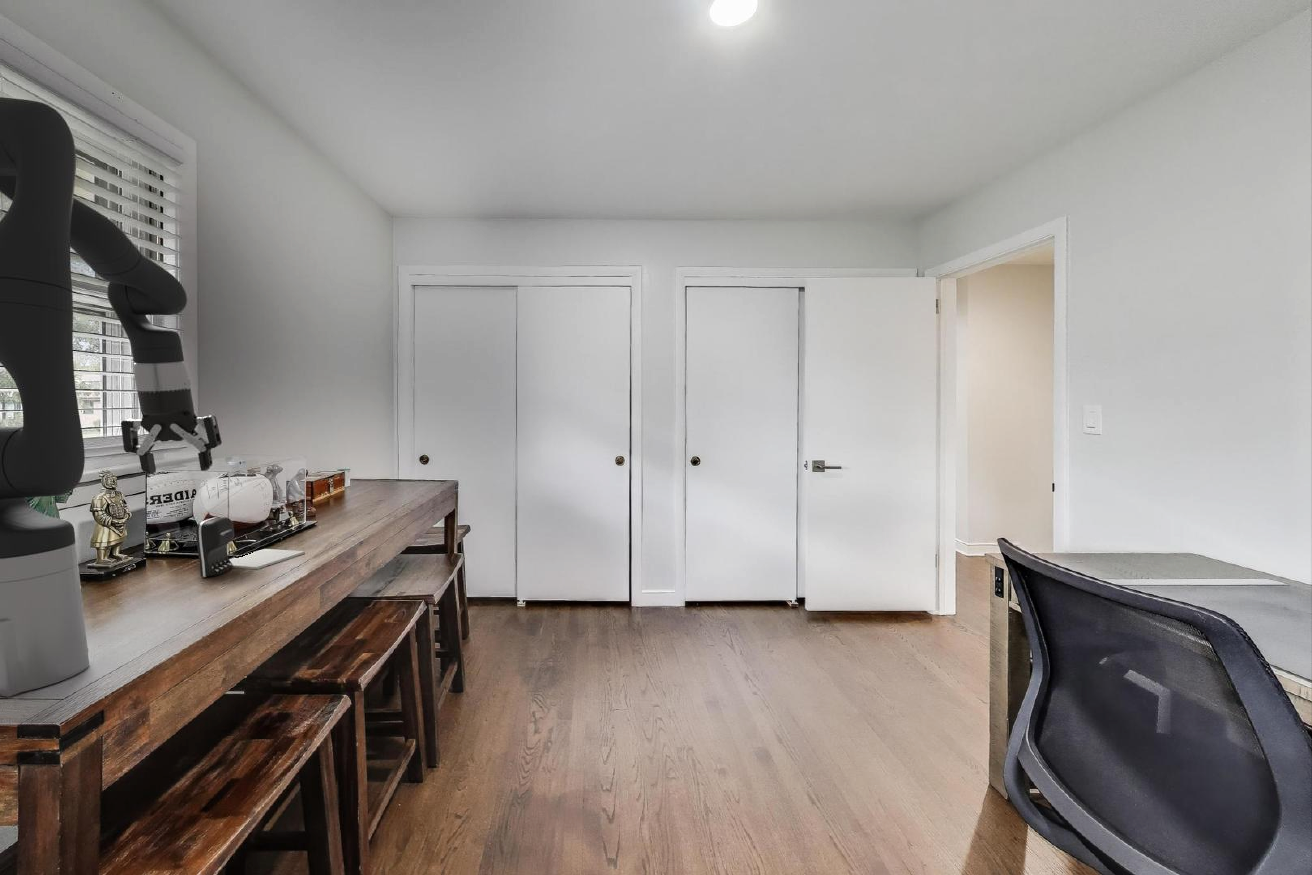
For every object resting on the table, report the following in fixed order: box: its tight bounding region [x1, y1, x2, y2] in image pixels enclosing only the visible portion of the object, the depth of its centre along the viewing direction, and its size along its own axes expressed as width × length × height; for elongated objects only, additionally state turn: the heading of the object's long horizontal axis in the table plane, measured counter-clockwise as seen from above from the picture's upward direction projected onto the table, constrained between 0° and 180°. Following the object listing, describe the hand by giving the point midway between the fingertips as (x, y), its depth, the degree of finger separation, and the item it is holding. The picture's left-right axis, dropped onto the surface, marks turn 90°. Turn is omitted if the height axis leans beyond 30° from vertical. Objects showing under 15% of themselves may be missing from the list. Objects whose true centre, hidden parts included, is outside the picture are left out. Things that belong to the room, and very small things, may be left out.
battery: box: [195, 516, 235, 578], centre depth 118 cm, size 7×4×11 cm, turn 8°
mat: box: [229, 548, 306, 570], centre depth 128 cm, size 12×12×1 cm
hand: (178, 471), depth 108 cm, fingers open, 8 cm apart
